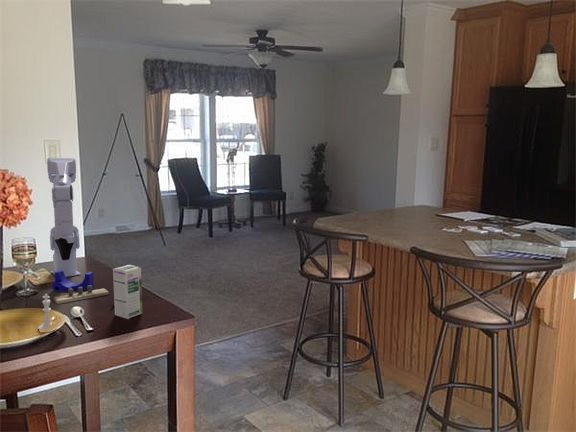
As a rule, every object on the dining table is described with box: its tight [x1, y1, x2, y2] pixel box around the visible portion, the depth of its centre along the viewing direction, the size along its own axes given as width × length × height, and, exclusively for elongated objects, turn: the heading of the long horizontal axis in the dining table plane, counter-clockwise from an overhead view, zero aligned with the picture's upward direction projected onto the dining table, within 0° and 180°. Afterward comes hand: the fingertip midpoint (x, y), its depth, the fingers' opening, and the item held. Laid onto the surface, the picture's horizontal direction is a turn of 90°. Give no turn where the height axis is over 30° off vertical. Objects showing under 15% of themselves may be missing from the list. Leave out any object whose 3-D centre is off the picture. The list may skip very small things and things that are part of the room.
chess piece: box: [37, 293, 53, 330], centre depth 140 cm, size 5×5×10 cm
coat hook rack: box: [53, 285, 110, 305], centre depth 167 cm, size 4×16×3 cm, turn 130°
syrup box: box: [112, 264, 143, 320], centre depth 152 cm, size 6×6×14 cm
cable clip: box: [52, 270, 95, 292], centre depth 174 cm, size 12×4×6 cm, turn 85°
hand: (65, 259), depth 177 cm, fingers closed
